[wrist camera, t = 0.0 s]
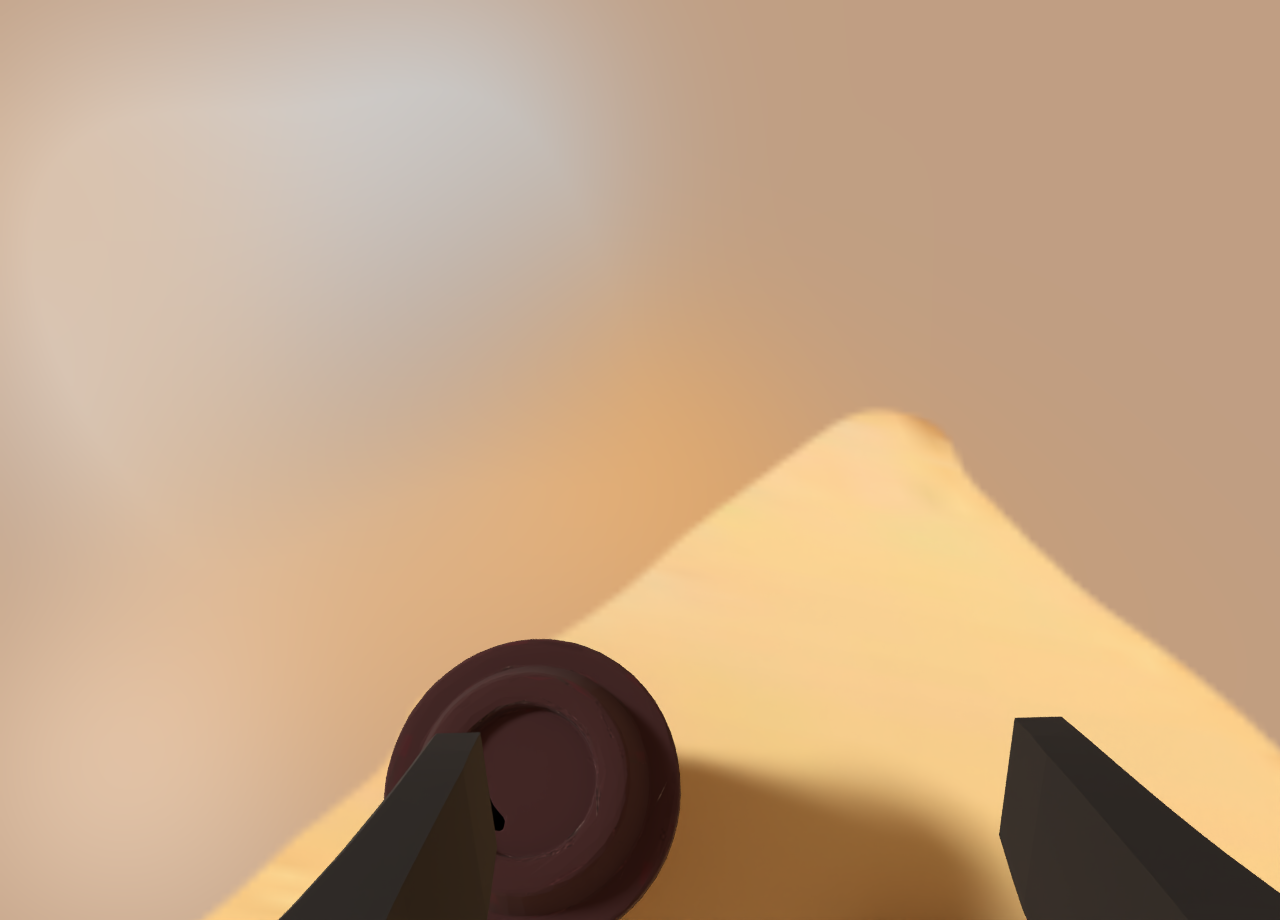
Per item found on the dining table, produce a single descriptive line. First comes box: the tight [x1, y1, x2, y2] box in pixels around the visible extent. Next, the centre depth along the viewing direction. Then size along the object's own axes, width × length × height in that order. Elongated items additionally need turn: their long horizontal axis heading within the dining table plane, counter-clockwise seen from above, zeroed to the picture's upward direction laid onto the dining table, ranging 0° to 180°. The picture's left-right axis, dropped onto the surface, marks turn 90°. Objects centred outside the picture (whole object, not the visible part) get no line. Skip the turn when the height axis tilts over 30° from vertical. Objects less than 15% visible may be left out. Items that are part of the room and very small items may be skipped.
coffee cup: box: [384, 639, 681, 920], centre depth 36 cm, size 10×10×15 cm
